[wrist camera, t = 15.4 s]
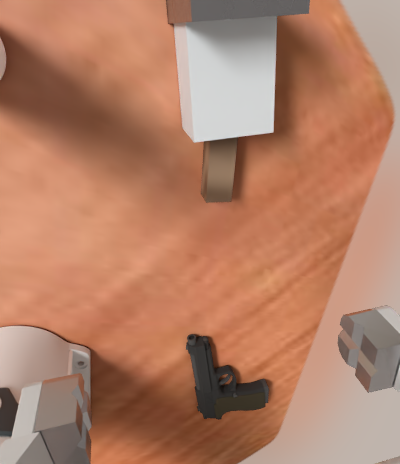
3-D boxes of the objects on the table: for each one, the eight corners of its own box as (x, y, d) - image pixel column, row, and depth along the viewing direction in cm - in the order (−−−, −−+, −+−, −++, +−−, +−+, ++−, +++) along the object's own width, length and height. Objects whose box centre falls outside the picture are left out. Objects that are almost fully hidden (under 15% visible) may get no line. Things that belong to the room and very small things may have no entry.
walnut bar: (224, 192, 46) (231, 201, 44) (200, 192, 46) (206, 202, 43) (235, 67, 40) (244, 70, 37) (207, 66, 39) (215, 69, 37)
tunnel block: (252, 119, 43) (273, 132, 37) (182, 128, 41) (194, 142, 36) (252, 17, 38) (277, 15, 33) (173, 23, 36) (185, 22, 31)
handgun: (266, 324, 55) (186, 345, 54) (270, 408, 65) (201, 428, 63) (259, 312, 58) (182, 332, 56) (263, 395, 67) (198, 414, 65)
